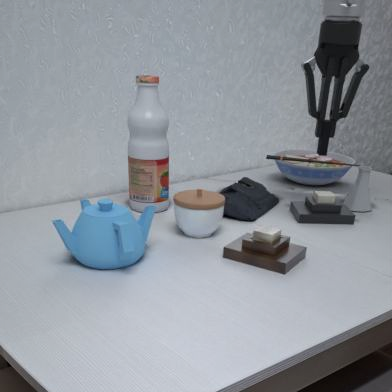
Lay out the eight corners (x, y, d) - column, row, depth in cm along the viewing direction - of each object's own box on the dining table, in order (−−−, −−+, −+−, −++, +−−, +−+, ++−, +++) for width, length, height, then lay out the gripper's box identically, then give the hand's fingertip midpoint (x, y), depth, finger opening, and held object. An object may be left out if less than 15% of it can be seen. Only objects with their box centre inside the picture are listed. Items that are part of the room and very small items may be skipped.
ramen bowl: (352, 178, 152) (358, 150, 148) (354, 199, 134) (361, 168, 129) (270, 170, 157) (273, 143, 152) (261, 190, 138) (264, 159, 133)
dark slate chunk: (192, 212, 119) (192, 192, 117) (227, 191, 136) (229, 173, 133) (252, 224, 114) (255, 203, 111) (282, 200, 131) (284, 181, 128)
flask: (363, 203, 131) (372, 163, 126) (376, 212, 125) (386, 171, 120) (337, 204, 130) (345, 163, 124) (349, 213, 124) (358, 171, 118)
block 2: (341, 211, 125) (344, 194, 123) (353, 224, 117) (357, 207, 114) (289, 209, 124) (291, 193, 122) (298, 223, 116) (301, 206, 114)
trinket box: (225, 242, 104) (229, 196, 99) (174, 241, 103) (174, 195, 98) (219, 224, 113) (222, 182, 108) (172, 224, 112) (172, 181, 107)
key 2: (329, 199, 120) (330, 191, 119) (333, 205, 117) (335, 196, 116) (312, 199, 120) (314, 190, 119) (317, 204, 117) (318, 195, 115)
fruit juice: (126, 202, 124) (122, 73, 109) (164, 200, 126) (164, 74, 111) (133, 214, 116) (128, 77, 101) (172, 212, 119) (174, 78, 103)
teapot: (52, 267, 90) (44, 208, 84) (85, 238, 103) (80, 185, 97) (133, 278, 88) (131, 218, 82) (157, 247, 100) (157, 193, 94)
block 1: (305, 257, 99) (308, 238, 97) (284, 274, 92) (287, 254, 89) (246, 242, 104) (248, 223, 102) (222, 257, 97) (224, 237, 95)
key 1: (280, 239, 97) (281, 229, 95) (271, 245, 94) (272, 235, 93) (261, 234, 98) (262, 224, 97) (252, 240, 95) (253, 230, 94)
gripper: (311, 18, 89) (294, 157, 102) (383, 20, 90) (357, 158, 102) (302, 18, 95) (287, 149, 108) (370, 20, 96) (347, 151, 109)
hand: (321, 154), depth 105 cm, fingers closed
